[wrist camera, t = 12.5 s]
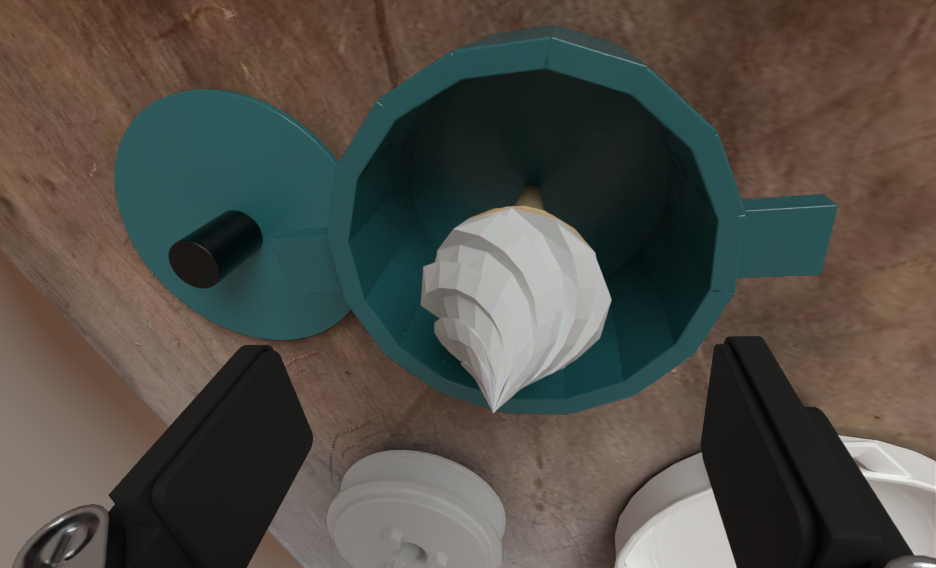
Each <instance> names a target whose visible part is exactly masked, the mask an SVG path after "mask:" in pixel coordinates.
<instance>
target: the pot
mask: <svg viewBox="0 0 936 568" xmlns="http://www.w3.org/2000/svg"><path fill="white" fill-rule="evenodd" d="M531 184H533V185H536V186H537V187H538V188H539V191H540V195H541V201H542V205H543V210H544V211H546V212H547V213H549V214H551V215H553V216H555V217H556V218H558V219H560V220H561V221H563V222H565V223H566V224H568V225H569V226H571V227H573V228H574V229H575V230H576V231H577V232H578V233H579V234H580V235H581V237H582V238H583V239H584V240H585V241H586V243H587V244H588V245H589V246H590V247H591V249H592V250H593V251H594V252H595V253H596V259H597V262H598V264H599V267H600V270H601V272H602V275H603V278H604V280H605V283H606V286H607V289H608V291H609V294H610V297H611V299H612V300H611V304H610V307H609V310H608V313H607V317H606V320H605V323H604V326H603V330H602V333H601V336H600V339H599V340H598V341H596V342H595V343H594V344H593V345H592V346H591V347H590V348H589V349H588V350H587V351H585V352H584V353H583V354H582V355H581V356H580V357H579V358H578V359H577V360H575V361H573V362H571V363H570V364H568V365H566V366H565V368H563V369H560V370H558V371H556V372H555V373H553V374H550V375H548V376H545V377H543V378H541V379H540V380H538V381H536V382H534V383H531V384H529V385H527V386H525V387H523V388H522V389H520V390H519V391H518V392H517V393H516V394H515V395H513V396H512V397H511V398H510V399H509V400H508V401H507V402H505V403H504V404H503V405H502V406H501V407H500V408H499V409H498V410H496V411H498V412H502V413H515V414H563V415H568V414H572V413H576V412H579V411H583V410H586V409H590V408H593V407H597V406H600V405H604V404H607V403H611V402H615V401H618V400H622V399H625V398H629V397H632V396H634V395H636V394H638V393H640V392H641V391H643V390H644V389H645V388H647V387H648V386H650V385H651V384H653V383H654V382H656V381H657V380H658V379H660V378H661V377H663V376H664V375H666V374H667V373H669V372H670V371H671V370H673V369H674V368H676V367H677V366H679V365H680V364H681V363H683V362H684V361H686V360H687V359H689V358H690V357H692V355H693V354H695V353H696V351H697V350H698V348H699V347H700V345H701V344H702V342H703V341H704V339H705V338H706V336H707V335H708V333H709V332H710V330H711V328H712V327H713V325H714V324H715V322H716V321H717V319H718V318H719V316H720V315H721V313H722V312H723V310H724V309H725V307H726V306H727V304H728V303H729V301H730V300H731V298H732V297H733V295H734V292H735V291H736V284H737V278H750V277H778V276H807V275H821V274H822V270H823V266H824V262H825V258H826V254H827V249H828V245H829V241H830V237H831V233H832V228H833V224H834V220H835V216H836V212H837V208H838V205H837V204H836V203H834V202H833V201H832V200H830V199H829V198H828V197H826V196H825V195H823V194H819V195H804V196H789V197H774V198H759V199H744V200H742V199H741V196H740V193H739V190H738V187H737V185H736V182H735V179H734V176H733V173H732V170H731V167H730V165H729V162H728V159H727V156H726V153H725V150H724V147H723V144H722V142H721V139H720V136H719V134H718V133H717V132H716V129H715V128H714V127H713V126H712V125H711V124H709V123H708V122H707V121H706V120H705V119H704V118H703V117H702V116H701V115H700V114H699V113H698V112H697V111H696V110H695V109H693V108H692V107H691V106H690V105H689V104H688V103H687V102H686V101H685V100H684V99H683V98H682V97H681V96H680V95H679V94H677V93H676V92H675V91H674V90H673V89H672V88H671V87H670V86H669V85H668V84H667V83H666V82H665V81H664V80H663V79H661V78H660V77H659V76H658V75H657V74H656V73H655V72H654V71H653V70H652V69H651V68H650V67H648V66H647V65H646V64H644V63H643V62H642V61H640V60H639V59H638V58H636V57H635V56H634V55H632V54H631V53H630V52H628V51H627V50H626V49H624V48H623V47H622V46H620V45H619V44H616V43H613V42H610V41H607V40H603V39H600V38H597V37H593V36H591V35H588V34H585V33H580V32H577V31H574V30H571V29H567V28H564V27H561V26H557V25H555V26H554V25H551V26H544V27H537V28H530V29H521V30H517V31H510V32H503V33H496V34H491V35H488V36H486V37H483V38H481V39H479V40H476V41H474V42H472V43H469V44H467V45H465V46H463V47H460V48H458V49H456V50H453V51H451V52H449V53H448V54H446V55H444V56H443V57H441V58H440V59H438V60H437V61H435V62H434V63H432V64H431V65H429V66H428V67H426V68H425V69H423V70H421V71H420V72H418V73H417V74H415V75H414V76H412V77H411V78H409V79H408V80H406V81H405V82H403V83H402V84H400V85H399V86H397V87H395V88H394V89H392V90H391V91H389V92H388V93H386V94H385V95H383V96H382V97H380V98H379V100H377V101H376V102H375V104H374V105H373V107H372V109H371V110H370V112H369V114H368V115H367V117H366V119H365V120H364V122H363V123H362V125H361V127H360V128H359V130H358V132H357V133H356V135H355V136H354V138H353V140H352V141H351V143H350V145H349V146H348V148H347V150H346V151H345V153H344V154H343V156H342V158H341V159H340V161H339V163H338V164H337V166H336V169H335V174H334V183H333V192H332V200H331V209H330V218H329V227H320V228H305V229H290V230H283V231H282V232H280V233H279V234H278V235H277V236H275V237H274V238H273V239H272V240H271V242H272V244H273V247H274V250H275V253H276V256H277V258H278V261H279V264H280V267H281V269H282V272H283V275H284V278H285V281H286V283H287V286H288V289H289V292H290V293H291V294H293V293H321V292H343V294H344V298H345V301H346V304H348V307H349V308H350V309H351V310H352V312H353V313H354V314H355V316H356V317H357V318H358V320H359V321H360V322H361V324H362V325H363V326H364V328H365V329H366V330H367V332H368V333H369V334H370V336H371V337H372V338H373V339H374V341H375V342H376V343H377V345H378V346H379V347H380V349H381V350H382V351H383V353H384V354H385V355H387V357H388V358H390V359H391V360H393V361H394V362H395V363H397V364H398V365H400V366H401V367H403V368H404V369H406V370H407V371H409V372H410V373H411V374H413V375H414V376H416V377H417V378H419V379H420V380H422V381H423V382H425V383H426V384H427V385H429V386H430V387H432V388H433V389H435V390H436V391H438V392H441V393H442V394H445V395H448V396H451V397H454V398H457V399H460V400H463V401H467V402H470V403H473V404H476V405H479V406H482V407H485V408H489V409H491V408H490V406H489V404H488V402H487V400H486V398H485V397H484V395H483V393H482V391H481V389H480V387H479V386H478V384H477V382H476V380H475V379H474V378H473V376H472V375H471V374H470V373H469V372H468V371H467V370H466V369H465V368H464V367H463V366H462V365H461V362H462V361H460V360H458V359H457V358H456V357H455V356H454V355H452V354H451V353H450V352H449V351H448V350H447V349H446V348H445V347H444V346H443V345H442V344H441V342H440V341H439V339H438V338H437V336H436V334H435V333H434V323H435V322H436V321H437V320H439V319H440V318H438V317H437V316H435V315H434V314H433V313H431V312H430V311H428V310H427V309H425V308H424V307H422V306H421V295H422V279H423V266H426V265H429V264H432V263H435V259H436V256H437V250H438V249H439V248H440V246H441V245H442V244H443V242H444V241H445V240H446V238H447V237H448V235H449V234H450V233H451V231H452V230H453V229H454V228H456V227H457V226H459V225H460V224H461V223H463V222H464V221H466V220H467V219H469V218H471V217H473V216H476V215H479V214H481V213H484V212H487V211H489V210H492V209H496V208H503V207H510V206H514V205H515V204H516V202H517V201H518V199H519V197H520V196H521V194H522V192H523V190H524V189H525V188H526V187H527V186H528V185H531Z"/></svg>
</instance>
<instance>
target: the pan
mask: <svg viewBox="0 0 936 568" xmlns="http://www.w3.org/2000/svg"><path fill="white" fill-rule="evenodd" d="M838 436H839V437H840V439H841V440H842V442H843V444H844V445H845V447H846V448H847V450H848V451H849V453H850V455H851V456H852V458H853V459H854V461H855V462H856V464H857V466H858V467H859V469H860V470H861V472H862V473H863V475H864V477H865V478H866V480H867V481H868V483H869V484H870V486H871V488H872V489H873V491H874V492H875V494H876V495H877V497H878V499H879V500H880V502H881V503H882V505H883V506H884V508H885V510H886V511H887V513H888V514H889V516H890V517H891V519H892V521H893V522H894V524H895V525H896V527H897V528H898V530H899V532H900V533H901V535H902V536H903V538H904V539H905V541H906V543H907V544H908V546H909V547H910V549H911V550H912V552H913V554H914V555H924V556H928V557H933V558H936V461H934V460H932V459H930V458H928V457H926V456H924V455H922V454H919V453H917V452H915V451H912V450H908V449H905V448H902V447H898V446H895V445H891V444H888V443H884V442H881V441H877V440H874V439H867V438H859V437H852V436H844V435H838ZM615 548H616V562H615V566H614V568H737V567H736V564H735V561H734V557H733V554H732V551H731V548H730V545H729V541H728V538H727V535H726V532H725V529H724V525H723V522H722V519H721V516H720V513H719V510H718V506H717V503H716V500H715V497H714V494H713V490H712V487H711V484H710V481H709V478H708V474H707V471H706V468H705V465H704V462H703V458H702V451H701V452H698V453H696V454H694V455H691V456H689V457H687V458H685V459H682V460H680V461H678V462H675V463H674V464H672V465H671V466H669V467H668V468H666V469H665V470H663V471H661V472H660V473H658V474H657V475H655V476H654V477H652V478H651V479H650V480H649V481H648V482H647V483H646V484H645V485H644V486H643V487H642V488H641V489H640V490H639V491H638V492H637V493H636V494H635V495H634V496H633V497H632V498H631V500H630V501H629V503H628V505H627V506H626V508H625V509H624V511H623V512H622V514H621V515H620V517H619V521H618V525H617V529H616V532H615Z"/></svg>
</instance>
